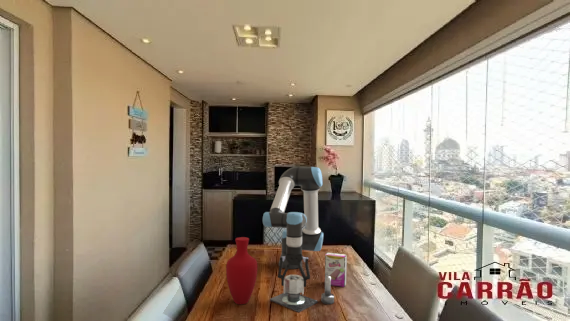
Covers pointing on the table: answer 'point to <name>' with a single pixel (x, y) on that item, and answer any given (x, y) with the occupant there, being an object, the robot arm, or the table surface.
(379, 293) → the table surface
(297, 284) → the bushing
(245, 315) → the table surface
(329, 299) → the stand
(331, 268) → the candy bar box
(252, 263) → the vase
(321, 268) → the table surface
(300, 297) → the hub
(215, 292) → the table surface
